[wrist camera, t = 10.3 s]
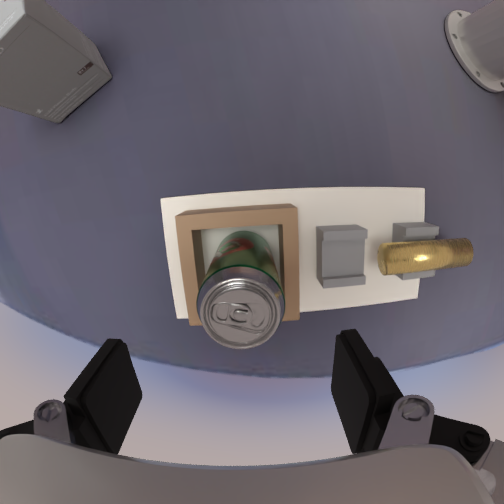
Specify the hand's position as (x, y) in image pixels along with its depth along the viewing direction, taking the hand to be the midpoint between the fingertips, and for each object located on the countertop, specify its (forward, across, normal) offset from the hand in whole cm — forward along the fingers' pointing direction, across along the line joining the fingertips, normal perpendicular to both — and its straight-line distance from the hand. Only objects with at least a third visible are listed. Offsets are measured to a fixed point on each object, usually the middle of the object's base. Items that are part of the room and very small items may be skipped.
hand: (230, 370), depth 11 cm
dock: (+18, -6, 0) cm, 19 cm away
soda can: (+17, 0, 0) cm, 17 cm away
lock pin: (+15, -17, 0) cm, 23 cm away
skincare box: (+18, +17, -21) cm, 33 cm away
